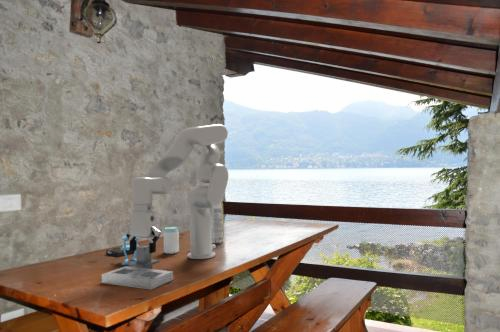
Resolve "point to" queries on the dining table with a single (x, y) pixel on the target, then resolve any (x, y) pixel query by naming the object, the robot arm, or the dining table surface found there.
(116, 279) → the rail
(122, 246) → the chair
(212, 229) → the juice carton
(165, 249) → the can
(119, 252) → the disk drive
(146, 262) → the flanged block
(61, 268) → the dining table surface
